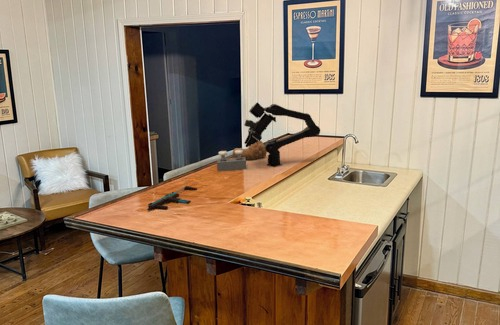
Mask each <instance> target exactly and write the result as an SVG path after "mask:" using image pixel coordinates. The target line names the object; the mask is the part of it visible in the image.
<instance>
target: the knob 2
mask: <svg viewBox="0 0 500 325" xmlns="http://www.w3.org/2000/svg"><path fill="white" fill-rule="evenodd" d="M242 153H243V150H235V154H237V158H238V160H241V154H242Z"/></svg>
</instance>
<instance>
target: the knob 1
mask: <svg viewBox="0 0 500 325" xmlns="http://www.w3.org/2000/svg"><path fill="white" fill-rule="evenodd" d="M227 154H228V152H227V150H221V151H218V156H220V157H221V158H220V159H221V160H222V161H225V159H226V155H227Z"/></svg>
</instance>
